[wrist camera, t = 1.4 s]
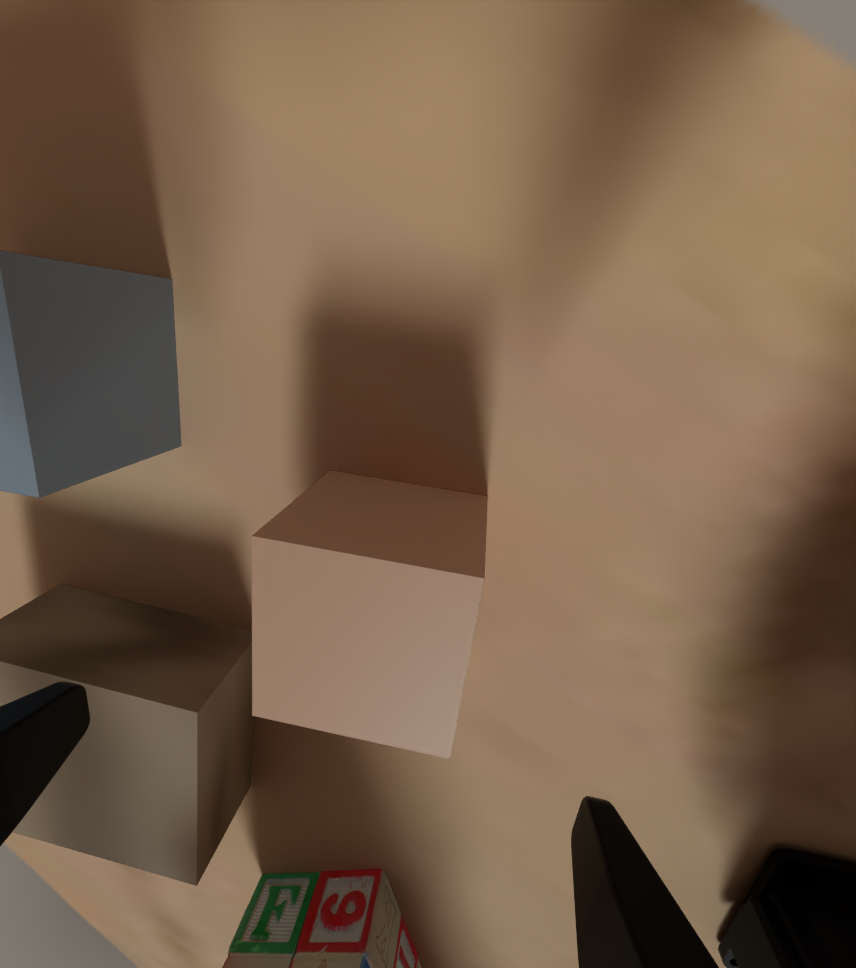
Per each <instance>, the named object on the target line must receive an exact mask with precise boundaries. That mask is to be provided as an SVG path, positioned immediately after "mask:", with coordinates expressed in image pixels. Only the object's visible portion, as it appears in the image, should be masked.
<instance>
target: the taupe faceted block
mask: <svg viewBox="0 0 856 968" xmlns="http://www.w3.org/2000/svg"><path fill="white" fill-rule="evenodd" d="M61 681H65V682H71V683H75V684H80V685H82V686H83V687H84V688H85V689H86V693H87V700H88V706H89V712H90V724H89V727H88V729H87V731H86V733H85V734H84V736H83V737H82V739H81V740H80V741H79V743H78V744H77V745H76V747H75V748H74V750H73V751H72V752H71V754H70V755H69V756H68V758H67V759H66V761H65V762H64V763H63V765H62V766H61V767H60V769H59V770H58V772H57V773H56V774H55V776H54V777H53V778H52V780H51V781H50V782H49V784H48V785H47V787H46V788H45V789H44V791H43V792H42V793H41V795H40V796H39V798H38V799H37V800H36V802H35V803H34V804H33V806H32V807H31V809H30V810H29V811H28V812H27V814H26V815H25V816H24V818H23V819H22V820H21V822H20V823H19V824H18V825H17V827H16V828H15V829H14V830H13V832H14V833H17V834H21V835H24V836H27V837H31V838H34V839H38V840H41V841H45V842H48V843H52V844H55V845H58V846H62V847H65V848H69V849H72V850H76V851H79V852H83V853H86V854H89V855H93V856H96V857H100V858H103V859H107V860H110V861H114V862H117V863H120V864H124V865H127V866H131V867H134V868H138V869H141V870H144V871H148V872H151V873H155V874H158V875H162V876H165V877H169V878H172V879H175V880H179V881H182V882H186V883H189V884H193V885H196V886H197V884H198V883H199V881H200V879H201V877H202V875H203V873H204V871H205V870H206V868H207V866H208V864H209V862H210V860H211V858H212V857H213V855H214V853H215V851H216V849H217V847H218V845H219V843H220V842H221V840H222V838H223V836H224V834H225V832H226V830H227V829H228V827H229V825H230V823H231V821H232V819H233V817H234V816H235V814H236V812H237V810H238V808H239V806H240V804H241V802H242V801H243V799H244V797H245V795H246V793H247V791H248V789H249V788H250V784H251V768H252V752H253V735H254V719H255V716H252V631H251V630H247V629H243V628H238V627H234V626H230V625H226V624H222V623H218V622H214V621H210V620H206V619H202V618H197V617H193V616H189V615H185V614H181V613H177V612H173V611H169V610H165V609H160V608H156V607H152V606H148V605H144V604H140V603H136V602H132V601H128V600H123V599H119V598H115V597H111V596H107V595H103V594H99V593H95V592H91V591H87V590H82V589H78V588H74V587H70V586H66V585H62V584H60V585H58V586H56V587H54V588H53V589H51V590H49V591H48V592H46V593H44V594H42V595H41V596H39V597H37V598H36V599H34V600H32V601H30V602H29V603H27V604H25V605H24V606H22V607H20V608H18V609H17V610H15V611H13V612H12V613H10V614H8V615H6V616H5V617H3V618H1V619H0V706H2V705H5V704H7V703H9V702H12V701H14V700H17V699H19V698H21V697H24V696H26V695H28V694H31V693H33V692H35V691H38V690H40V689H42V688H45V687H47V686H49V685H52V684H54V683H57V682H61Z"/></svg>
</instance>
